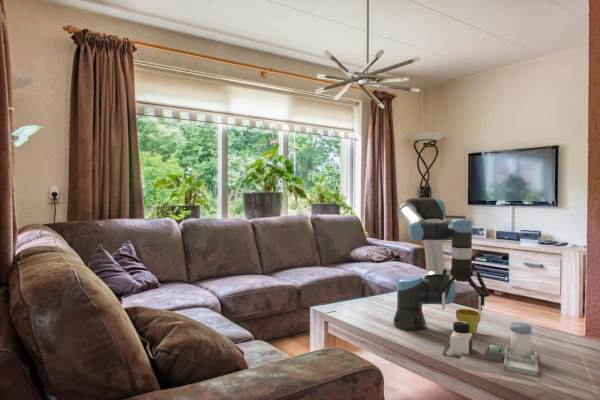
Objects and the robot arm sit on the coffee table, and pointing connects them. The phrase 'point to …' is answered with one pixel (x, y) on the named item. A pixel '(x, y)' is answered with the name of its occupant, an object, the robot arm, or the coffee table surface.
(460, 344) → the medicine bottle
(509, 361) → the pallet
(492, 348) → the button
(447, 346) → the frame
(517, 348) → the cream and blue canister
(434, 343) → the coffee table surface
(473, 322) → the plant pot
